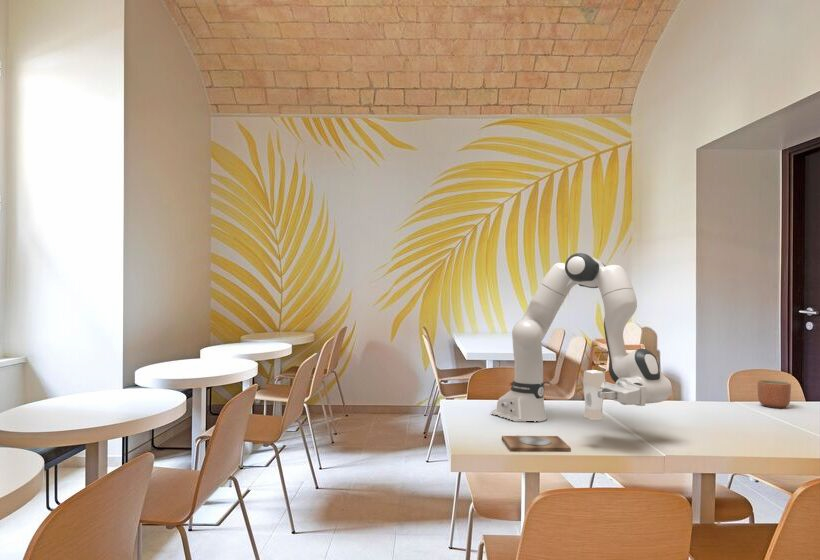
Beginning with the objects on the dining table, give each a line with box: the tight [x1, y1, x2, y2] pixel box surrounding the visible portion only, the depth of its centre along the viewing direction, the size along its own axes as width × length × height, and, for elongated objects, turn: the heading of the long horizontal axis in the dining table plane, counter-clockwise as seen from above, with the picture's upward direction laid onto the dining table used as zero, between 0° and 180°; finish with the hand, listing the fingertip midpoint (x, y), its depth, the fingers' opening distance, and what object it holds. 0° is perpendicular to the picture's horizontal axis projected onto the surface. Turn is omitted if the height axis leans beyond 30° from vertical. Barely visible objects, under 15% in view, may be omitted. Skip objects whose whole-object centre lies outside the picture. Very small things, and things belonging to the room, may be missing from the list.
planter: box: [757, 379, 792, 409], centre depth 248 cm, size 12×12×11 cm
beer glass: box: [582, 369, 606, 421], centre depth 182 cm, size 7×7×15 cm
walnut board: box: [501, 435, 572, 453], centre depth 182 cm, size 19×14×2 cm
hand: (591, 392), depth 181 cm, fingers closed on beer glass, 6 cm apart
